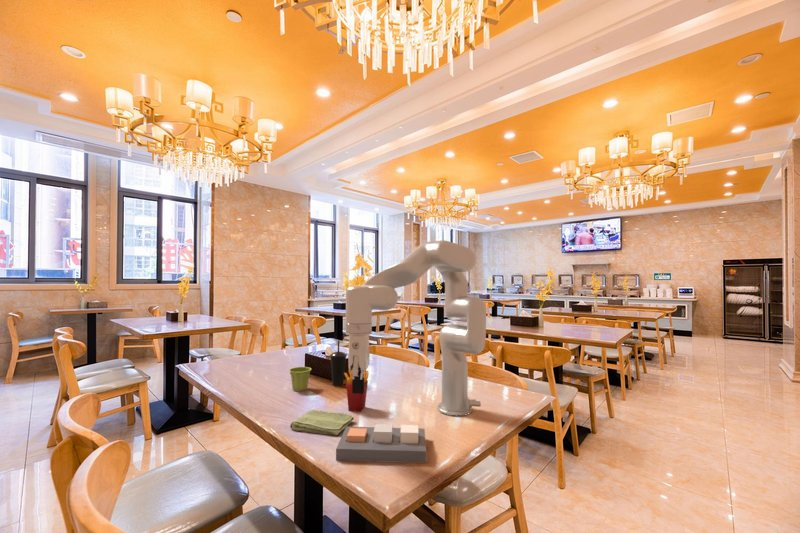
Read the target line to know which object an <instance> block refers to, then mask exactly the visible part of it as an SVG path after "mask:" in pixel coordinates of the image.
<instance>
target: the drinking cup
mask: <svg viewBox="0 0 800 533" xmlns="http://www.w3.org/2000/svg"><path fill="white" fill-rule="evenodd" d="M347 354H348V353H345V352H343V351H340V340H337V351H335V352H332V353H330V354H329V357H330V369H331V384H332V386H334V387H338V386H339V387H341V386H343V385H344V378H345V375H344V373H345V370H346V360H347V356H348V355H347Z"/></svg>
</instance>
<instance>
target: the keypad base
mask: <svg viewBox="0 0 800 533" xmlns="http://www.w3.org/2000/svg"><path fill="white" fill-rule="evenodd" d="M350 428H367V439H366V442H347V434H348V432H349V430H350ZM374 428H375V426H371V427H370V426H347V427H346V428H344V430H343V433H342V435H341V438H340V439H339V442H338V444H337V446H336V448H335V461H343V462H345V461H346V462H349V461H350V462H355V461H356V462H377V463H378V462H380V463H381V462H382V463H383V462H384V463H385V462H386V463H388V462H390V463H411V462H426V463H427V447H426V434H425V433H426V432H425V431H426V430H425V428H419V427H418V444H413V443H400V432H401V427H393V430H392V443H377V442H374Z"/></svg>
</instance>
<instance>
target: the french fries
mask: <svg viewBox="0 0 800 533" xmlns="http://www.w3.org/2000/svg"><path fill="white" fill-rule="evenodd" d="M348 374H349V375H348ZM344 378H345V379H346V381H347V383H346V385H345V387H346V397H347V398H346V399H347V408H348V411H350V412H360V413H361V412H363V411H364V409H365V408H366V402H367V401H366V400H367V392H368V385H369V383H368V382H369V380H368V379H369V370H368V369H366V371H364V392H363V394H353V393H352V379H353V371H350V370H349V369H348V373H347V372H344Z"/></svg>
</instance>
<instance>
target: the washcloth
mask: <svg viewBox="0 0 800 533" xmlns="http://www.w3.org/2000/svg"><path fill="white" fill-rule="evenodd" d="M354 419H355V418H354V416H352V415H351V414H346V413H343V412H332V411H329V412H328V411H324V410H316V409H312V410H308V411H306V412H305V413H304V414H302V415H301V417H298V418H296V419H294V420H293V421H291V422H290V424H289V427H290V430H293V431H295V432H296V431H298V432H302V433H309V434H310V433H311V434H321V435H330V436H337V437H338V435H339V434H340V433H341V432H342V431H344V430H345V428H346V427H349V424H351V422H352V421H353V420H354Z"/></svg>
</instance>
